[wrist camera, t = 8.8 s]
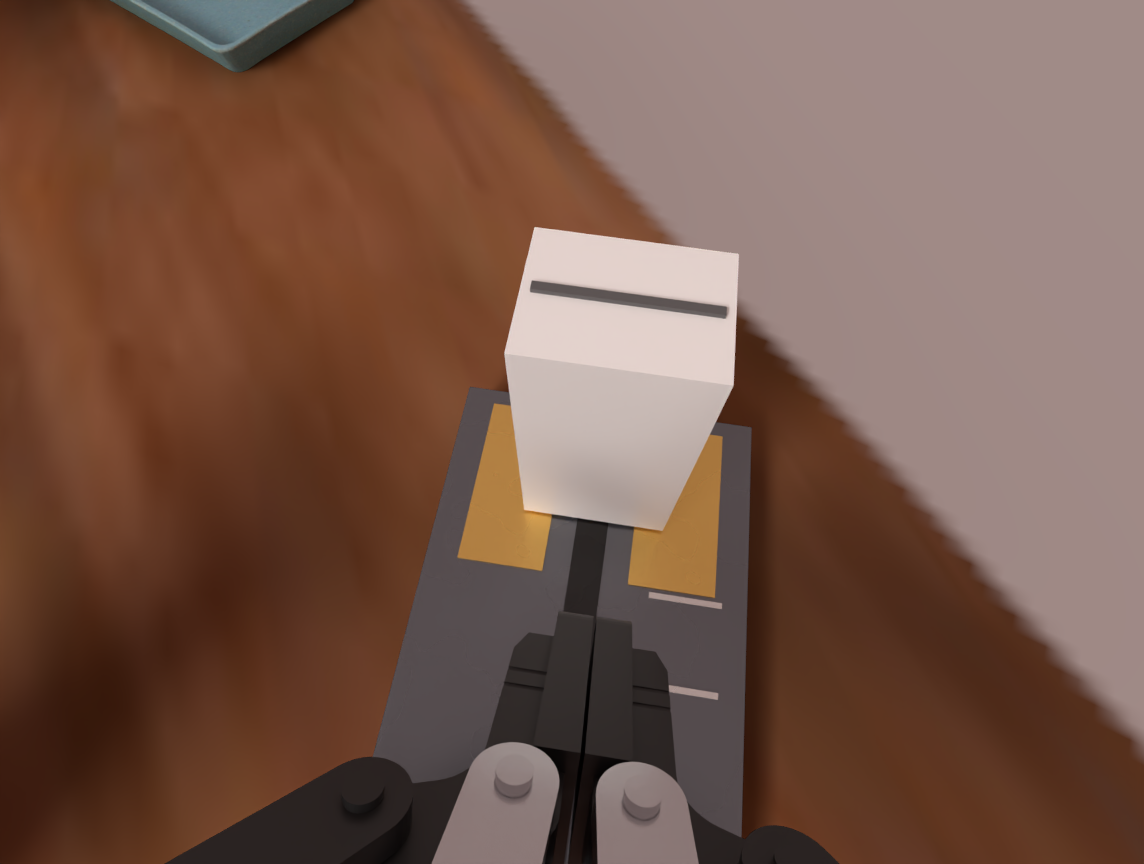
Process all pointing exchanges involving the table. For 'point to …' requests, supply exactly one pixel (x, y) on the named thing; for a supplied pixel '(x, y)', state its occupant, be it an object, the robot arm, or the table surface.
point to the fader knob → (617, 372)
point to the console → (576, 606)
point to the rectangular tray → (234, 24)
